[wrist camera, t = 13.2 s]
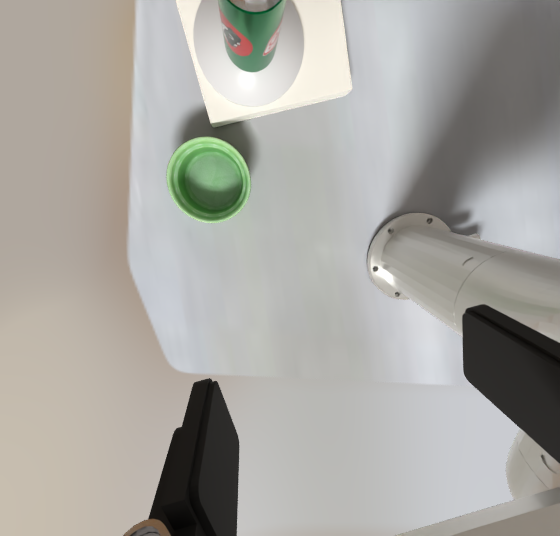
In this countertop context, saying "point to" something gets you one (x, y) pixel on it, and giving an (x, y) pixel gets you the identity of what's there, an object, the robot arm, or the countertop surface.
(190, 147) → the ramekin
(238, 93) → the scale
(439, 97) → the countertop surface
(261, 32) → the soda can
